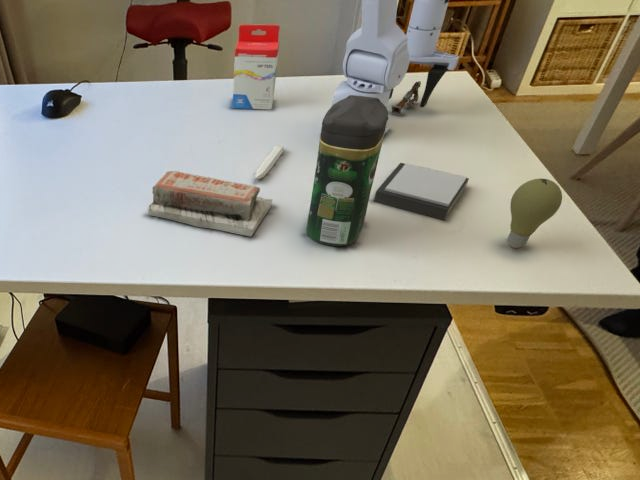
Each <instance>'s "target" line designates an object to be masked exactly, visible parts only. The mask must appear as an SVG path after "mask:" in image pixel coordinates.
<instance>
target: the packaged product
mask: <svg viewBox="0 0 640 480" xmlns="http://www.w3.org/2000/svg"><path fill="white" fill-rule="evenodd" d="M260 191H261V188H260V187H259V186H255V185H251V184H246V183H240V182H235V181H228V180H224V179H223V180H222V179H217V178H213V177H209V176H203V175H199V174H193V173H187V172H181V171H179V170H178V171H177V170H170V171H169V170H168V171H166V172H165V174H164V175H163V176H162V177H161V178H159V180H157V182H155V184H154V185H153V186H152V194H153V196H152V202H151V203H150V204H149V205H148V208H147V214H148V216H152V217H158V218H163V219H167V220H171V221H173V222H174V221H175V222H179V223H183V224H186V225H189V226H193V227H197V228H204V229H211V230H212V229H213V230H217V231H221V232H222V231H223V232H227V233H233V234H236V235H241V236H246V237H250V238H251V237H252V236H253V234H254V233H255V232H256V230H257V229H258V228H259V226H260V224H261V223H262V221H263V220H264V218H265V217H266V215H267V214H268V213H269V210H270V209H271V207H272V204H273V199H271V198H263V197H261V196H258V195H259V194H260Z"/></svg>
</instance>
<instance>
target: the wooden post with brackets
mask: <svg viewBox="0 0 640 480" xmlns="http://www.w3.org/2000/svg"><path fill="white" fill-rule="evenodd" d="M421 84H422V82H421V81H420V80H419V81H415V82H414V83H413V85H412V86H411V89H410V90H408V91H406V93H405V95H404V96H402V99H401V100H400V101H399V102H398V103H397V104H396V105H391V114H392V115H396V116H401V114H402V109H403V108H404V106H405V108H406V109H412V108H411V107H412V106H414V105H415V103H417V102H418V101H419V97H420V96H419V95H420V94H419V89H420V87H421ZM412 97H413V98H412Z"/></svg>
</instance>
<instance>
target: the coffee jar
mask: <svg viewBox="0 0 640 480" xmlns="http://www.w3.org/2000/svg"><path fill="white" fill-rule="evenodd" d="M389 119H390V117H389V110H388V107H387V108H386V107H385V105H384V104H383V103H382V102H381V101H380V100H379V99H378V98H373V97H365V96H356V95H349V96H348V97H347V98H345V99H342V100H340V101H338V102H337V103H335V104H334V105H333V106H332V105H331V106H330V107H329V108H328V110H327V112H326V113H325V114H324V117H323V118H322V123H321V129H320V134H319V140H318V150H317V158H316V166H315V172H314V177H313V186H312V191H311V198H310V205H309V210H308V215H307V216H308V217H307V222H306V227H305V228H306V229H305V232H306V235H307V236H308V237H309V238H310V239H311V240H314V241H316V242H317V243H318V244H319V243H320V244H323V245H326V246H332V247H333V246H334V247H337V246H338V247H339V246H349V245H351V244H352V243H354V242H355V241H357V238H358V237H359V235H361V232H362V230H363V228H364V224H365V219H366V215H367V211H368V206H369V201H370V196H371V192H372V188H373V184H374V180H375V176H376V171H377V167H378V163H379V158H380V154H381V151H382V145H383V141H384V136H385V134H386V133H385V129H386V127H387V124H388V121H389ZM384 133H385V134H384Z"/></svg>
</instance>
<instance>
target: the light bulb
mask: <svg viewBox="0 0 640 480" xmlns="http://www.w3.org/2000/svg"><path fill="white" fill-rule="evenodd" d="M562 202H563V193H562V190H561V188H560V186H559V185H558V184H557V183H556V182H554V181H553V180H551V179H548V178H543V177H542V178H534V179H531V180H528V181H526V182H524V183H522V184H521V185H520V186H519V187H518V188H517V189H516V190H515V191H514V193H513V194H512V196H511V199H510V205H509V206H510V207H509V208H510V215H511V216H510V217H511V219H510V220H511V221H510V232H509V234H508V236H507V238H506V242H507V244H508V245H509V247H511V248H512V249H519V248H524V247H525V246H526V245H527V243H528V241H529V239H530V237H531V236H532V235H533V234H534V233H535V232H536V231H537V229H538V228H540V226H542V225H543V224H544V223H545V222H547V221H548V220H550V219H551V218H552V217H553V216H554V215H556V213H557V212H558V211H559V209H560V207H561V205H562Z"/></svg>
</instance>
